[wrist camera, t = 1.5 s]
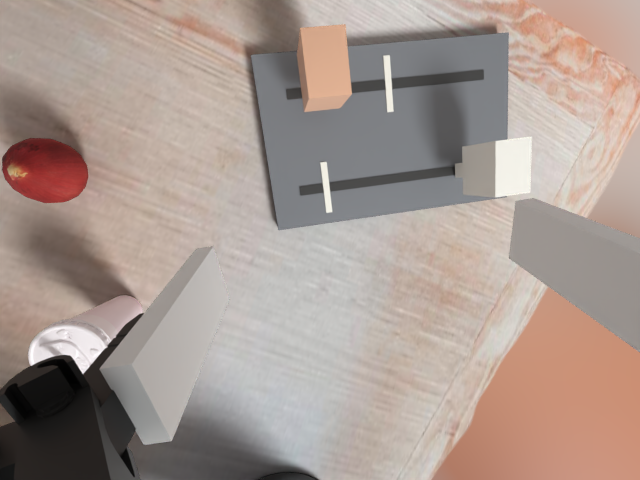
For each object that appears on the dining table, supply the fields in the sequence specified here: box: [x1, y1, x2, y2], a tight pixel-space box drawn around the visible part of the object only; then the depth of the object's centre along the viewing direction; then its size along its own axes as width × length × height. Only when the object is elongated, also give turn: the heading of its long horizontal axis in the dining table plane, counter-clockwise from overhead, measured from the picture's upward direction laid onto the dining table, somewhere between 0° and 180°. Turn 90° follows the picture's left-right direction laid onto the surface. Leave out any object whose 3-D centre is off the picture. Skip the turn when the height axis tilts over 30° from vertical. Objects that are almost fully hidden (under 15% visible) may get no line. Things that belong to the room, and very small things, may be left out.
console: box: [251, 33, 509, 230], centre depth 34 cm, size 18×28×2 cm, turn 97°
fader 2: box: [455, 136, 532, 198], centre depth 31 cm, size 5×4×8 cm
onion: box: [2, 138, 88, 203], centre depth 28 cm, size 6×6×8 cm
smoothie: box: [28, 295, 142, 374], centre depth 28 cm, size 6×6×14 cm
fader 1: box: [297, 24, 352, 112], centre depth 27 cm, size 5×4×8 cm
